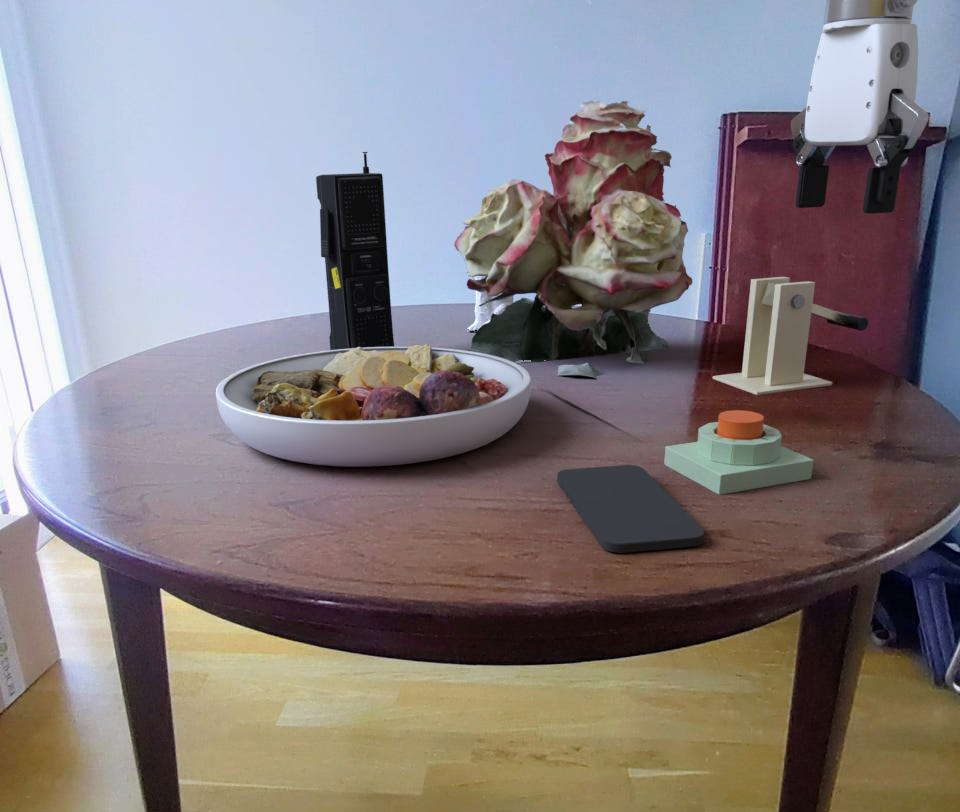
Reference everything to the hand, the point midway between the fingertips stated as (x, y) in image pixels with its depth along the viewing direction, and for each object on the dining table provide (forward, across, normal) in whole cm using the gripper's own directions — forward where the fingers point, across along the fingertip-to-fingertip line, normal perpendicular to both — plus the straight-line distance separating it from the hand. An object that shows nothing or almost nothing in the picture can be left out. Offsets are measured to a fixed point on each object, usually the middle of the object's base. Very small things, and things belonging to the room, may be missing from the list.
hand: (842, 209), depth 89 cm
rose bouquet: (+19, +26, +15) cm, 35 cm away
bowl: (+19, +8, +46) cm, 51 cm away
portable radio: (+19, +38, +41) cm, 59 cm away
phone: (+19, -21, +34) cm, 45 cm away
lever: (+12, +5, -2) cm, 13 cm away
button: (+16, -16, +22) cm, 31 cm away
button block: (+19, -16, +22) cm, 33 cm away
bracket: (+19, +5, +2) cm, 20 cm away
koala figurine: (+19, +51, +18) cm, 57 cm away
